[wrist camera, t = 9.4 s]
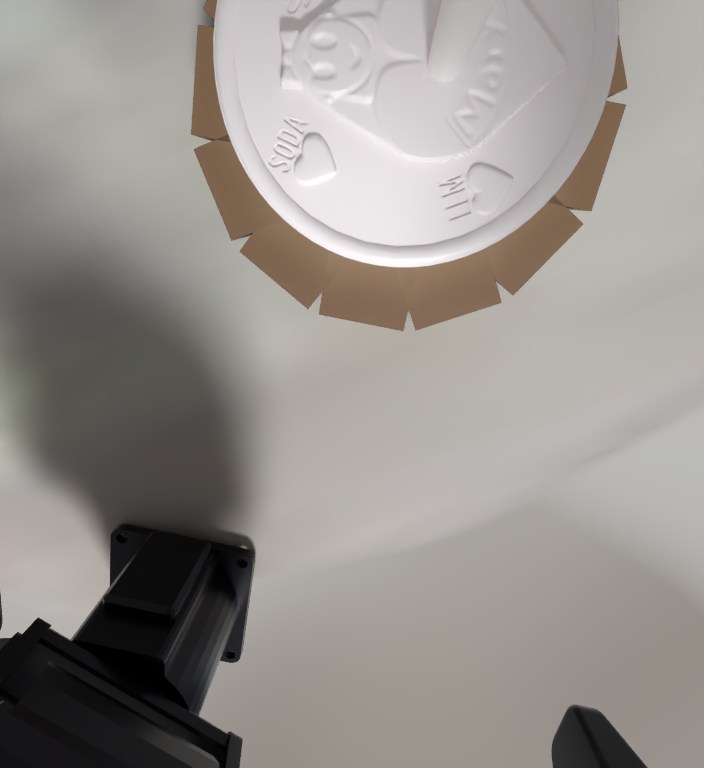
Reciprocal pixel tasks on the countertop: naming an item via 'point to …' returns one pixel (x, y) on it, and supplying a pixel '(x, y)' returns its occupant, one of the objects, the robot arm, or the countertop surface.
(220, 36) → the smoothie
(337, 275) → the walnut ring
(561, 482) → the countertop surface
